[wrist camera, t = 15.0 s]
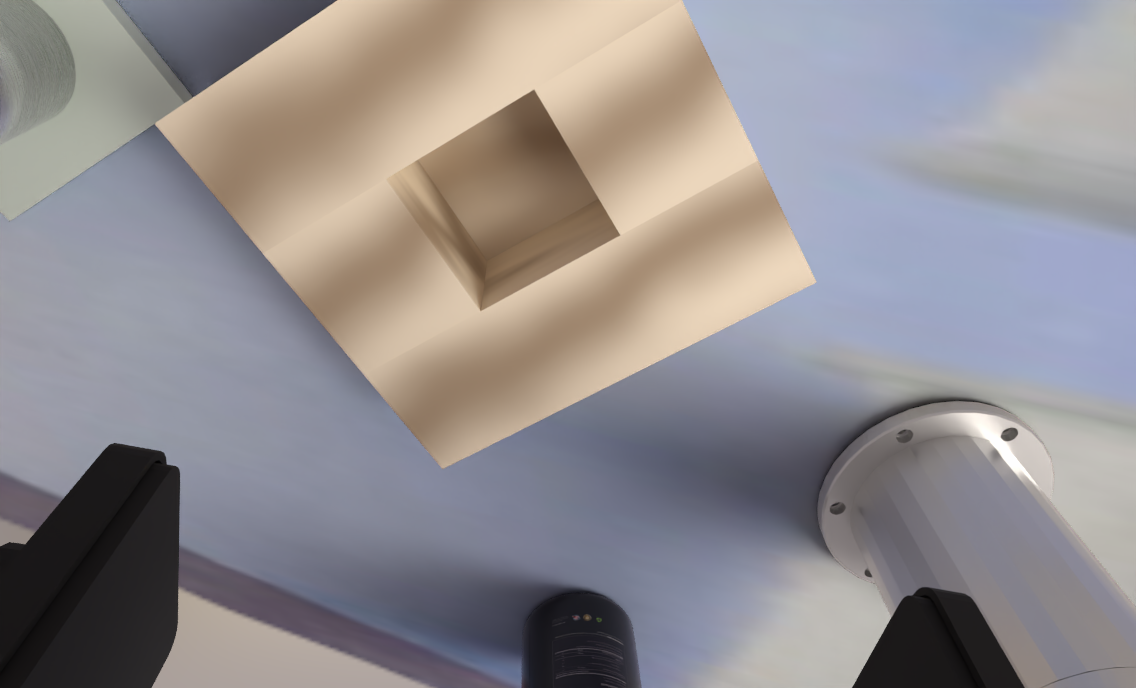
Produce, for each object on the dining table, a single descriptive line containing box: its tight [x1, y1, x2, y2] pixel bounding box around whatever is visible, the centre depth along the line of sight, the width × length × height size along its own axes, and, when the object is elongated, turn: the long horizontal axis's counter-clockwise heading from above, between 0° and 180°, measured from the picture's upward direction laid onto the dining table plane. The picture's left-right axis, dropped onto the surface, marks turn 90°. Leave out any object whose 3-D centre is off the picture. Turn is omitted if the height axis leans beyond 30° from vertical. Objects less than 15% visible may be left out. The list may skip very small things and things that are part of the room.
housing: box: [155, 0, 816, 469], centre depth 34 cm, size 18×18×6 cm
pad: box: [0, 0, 193, 221], centre depth 34 cm, size 10×10×1 cm
